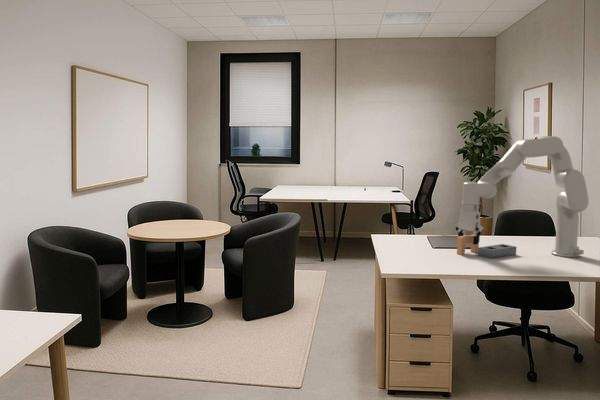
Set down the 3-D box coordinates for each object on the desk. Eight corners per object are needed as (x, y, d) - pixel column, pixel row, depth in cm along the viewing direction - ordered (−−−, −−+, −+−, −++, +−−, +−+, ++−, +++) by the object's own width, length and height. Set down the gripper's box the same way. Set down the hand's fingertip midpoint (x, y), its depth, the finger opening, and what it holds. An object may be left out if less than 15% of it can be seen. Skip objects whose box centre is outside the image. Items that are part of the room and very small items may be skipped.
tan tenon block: (478, 252, 278) (479, 235, 277) (461, 254, 271) (461, 237, 270) (474, 251, 281) (474, 234, 280) (456, 253, 274) (457, 236, 273)
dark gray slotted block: (516, 254, 273) (516, 246, 272) (491, 258, 263) (492, 250, 262) (501, 251, 279) (502, 243, 279) (477, 255, 270) (478, 247, 269)
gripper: (489, 209, 268) (487, 244, 270) (460, 205, 283) (459, 239, 285) (479, 210, 264) (477, 246, 266) (450, 206, 279) (449, 240, 280)
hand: (468, 242), depth 275 cm, fingers open, 9 cm apart
